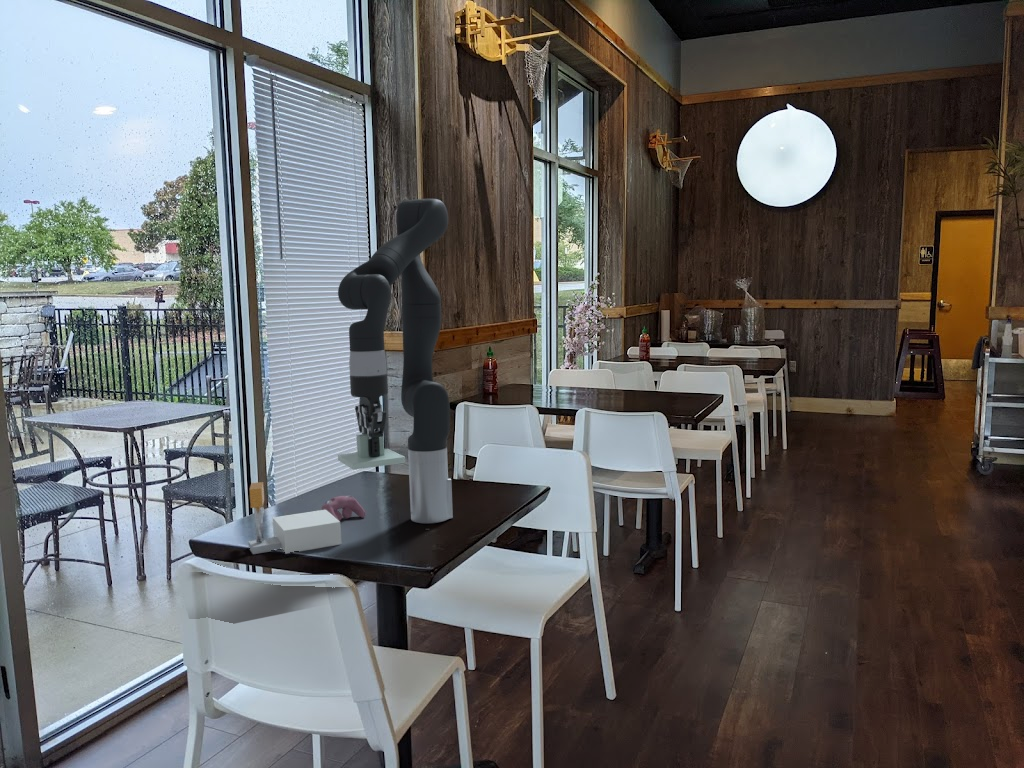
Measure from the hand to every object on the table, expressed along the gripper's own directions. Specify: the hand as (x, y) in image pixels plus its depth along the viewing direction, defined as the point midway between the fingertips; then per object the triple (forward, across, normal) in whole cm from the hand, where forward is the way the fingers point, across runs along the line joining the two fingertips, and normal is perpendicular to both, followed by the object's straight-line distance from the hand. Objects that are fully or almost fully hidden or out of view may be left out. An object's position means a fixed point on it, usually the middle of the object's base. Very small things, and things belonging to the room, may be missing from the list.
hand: (372, 455), depth 167 cm
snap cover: (+1, 0, 0) cm, 1 cm away
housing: (+21, +15, +14) cm, 29 cm away
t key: (+19, +16, +21) cm, 32 cm away
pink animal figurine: (+21, +27, -1) cm, 34 cm away
